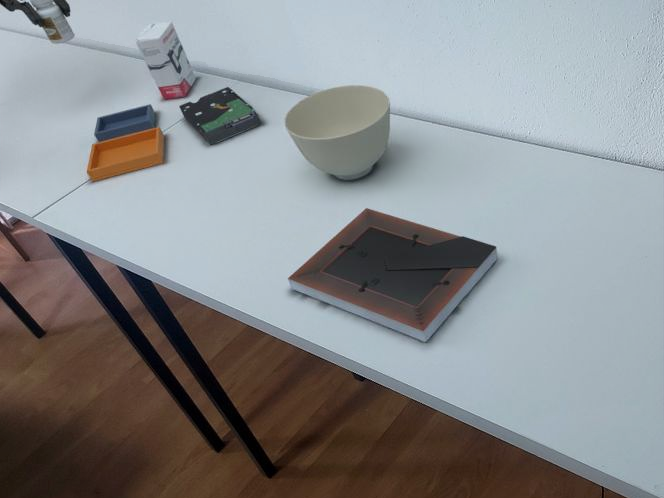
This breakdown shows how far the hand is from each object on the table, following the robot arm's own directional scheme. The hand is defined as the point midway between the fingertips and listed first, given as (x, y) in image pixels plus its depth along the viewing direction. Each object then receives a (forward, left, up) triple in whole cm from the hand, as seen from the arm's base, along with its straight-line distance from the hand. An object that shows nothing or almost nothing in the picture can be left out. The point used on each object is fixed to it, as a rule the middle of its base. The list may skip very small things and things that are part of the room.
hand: (54, 18), depth 116 cm
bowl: (+43, -48, -18) cm, 67 cm away
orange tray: (+6, -24, -18) cm, 30 cm away
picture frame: (+43, -76, -18) cm, 90 cm away
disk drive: (+23, -19, -18) cm, 35 cm away
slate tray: (+5, -11, -18) cm, 21 cm away
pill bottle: (-1, +2, -4) cm, 5 cm away
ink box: (+15, +1, -18) cm, 23 cm away
